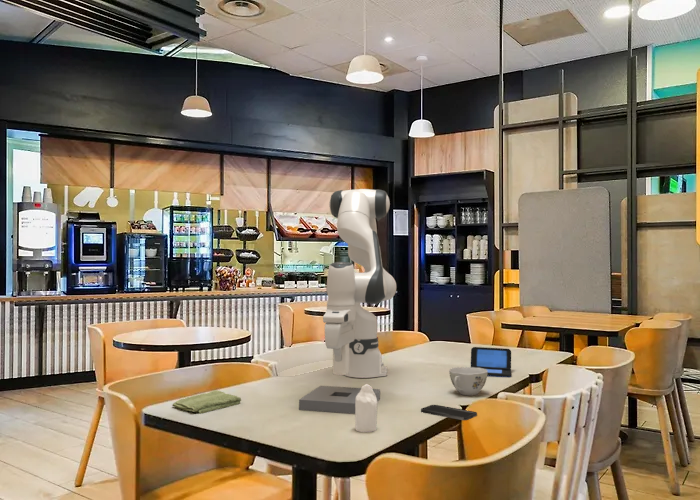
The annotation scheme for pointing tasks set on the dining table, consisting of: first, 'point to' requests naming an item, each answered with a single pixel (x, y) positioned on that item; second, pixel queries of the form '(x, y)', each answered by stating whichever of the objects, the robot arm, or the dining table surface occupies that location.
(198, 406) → the washcloth
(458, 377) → the teacup
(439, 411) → the phone
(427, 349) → the dining table surface
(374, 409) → the white bottle
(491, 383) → the dining table surface
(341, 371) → the charger plug
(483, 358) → the handheld game console
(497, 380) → the dining table surface
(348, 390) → the grey socket board
